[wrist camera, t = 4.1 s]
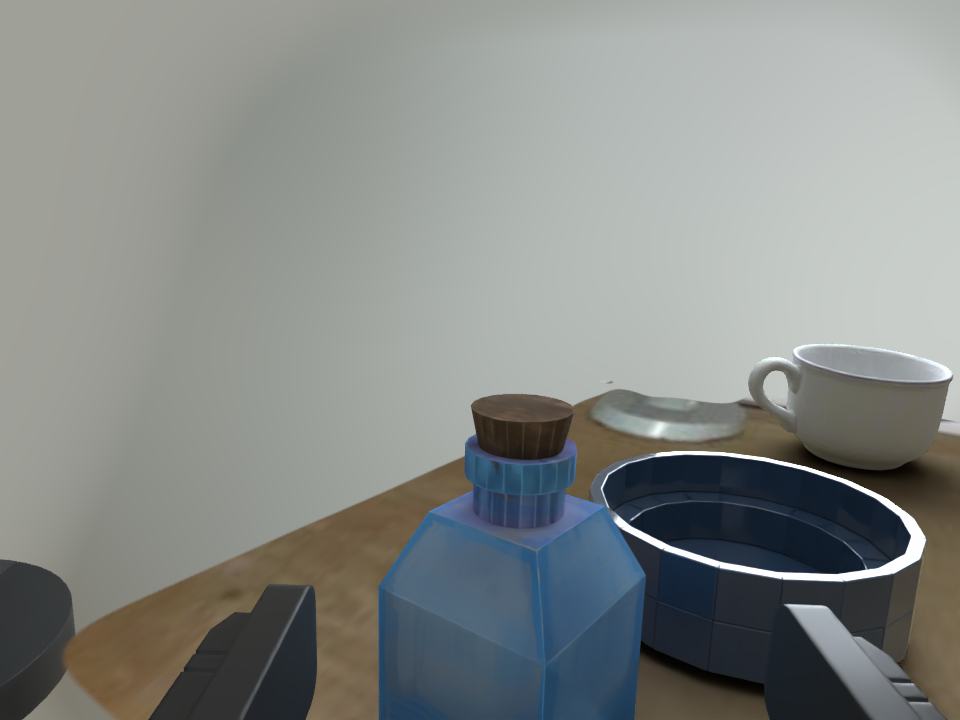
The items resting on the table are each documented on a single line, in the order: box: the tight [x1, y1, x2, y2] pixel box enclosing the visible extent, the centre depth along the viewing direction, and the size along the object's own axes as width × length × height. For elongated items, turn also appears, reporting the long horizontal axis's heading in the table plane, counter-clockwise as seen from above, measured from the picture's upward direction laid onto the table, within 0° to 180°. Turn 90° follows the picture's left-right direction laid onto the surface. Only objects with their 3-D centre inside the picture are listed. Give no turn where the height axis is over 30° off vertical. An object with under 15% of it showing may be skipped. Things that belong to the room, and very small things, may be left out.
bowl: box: [589, 451, 927, 684], centre depth 33 cm, size 14×14×5 cm
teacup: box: [748, 344, 953, 470], centre depth 54 cm, size 14×11×8 cm
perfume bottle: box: [379, 394, 646, 720], centre depth 23 cm, size 6×6×12 cm
